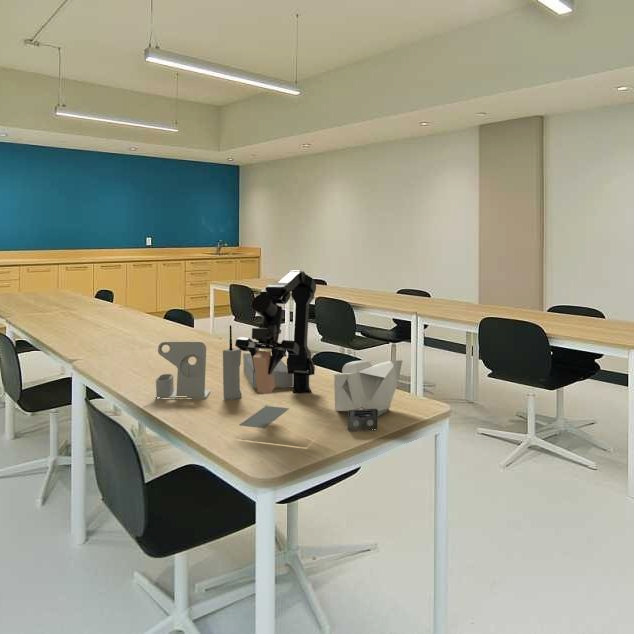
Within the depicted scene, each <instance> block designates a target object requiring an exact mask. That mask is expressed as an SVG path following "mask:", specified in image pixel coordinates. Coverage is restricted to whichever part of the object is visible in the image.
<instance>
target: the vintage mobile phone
mask: <svg viewBox="0 0 634 634" xmlns="http://www.w3.org/2000/svg"><path fill="white" fill-rule="evenodd" d="M232 331H233V330H232V325H229V339H228V340H229V348H228V349H223V350H222V373H223V374H222V375H223V376H222V377H223V378H222V379H223V381H222V382H223V383H222V386H223V387H222V388H223V391H222V393H223V400H229V401H233V400H236V399H240V398H241V397H243V396H242V395H243V394H242V391H241V388H240V386H241V383H240V382H241V380H240V379H241V378H240V370H241V369H240V366H241V364H242V363H241V362H242V361H241V359H242V350H240V349H239V348H237V347H236V348H235V347H233V339H232V336H233V335H232V334H233V333H232Z"/></svg>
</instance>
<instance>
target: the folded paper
mask: <svg viewBox="0 0 634 634" xmlns="http://www.w3.org/2000/svg"><path fill="white" fill-rule="evenodd" d="M402 364H403V360H387V361H384V362H381V363H377V364H374V365H373V364H372V363H371V362H370V361H368V360H366V359H365V360H364V359H363V360H353V361H350V362H347V363H345V364H344V365H343V366H342V369H341V372H342V373H337V374H334V375H333V377H334V378H333V379H334V410H335V411H337V412H348V410H358V409H377V410H378V416H379V417H380V415H381V416H382V415H383V413H384V412H385V413H387V412H388V411H390V408H391V403H392V401H393V399H394V395H395V393H396V390H397V387H398V384H399V380H400V374H401V371H402ZM387 410H388V411H387ZM385 413H384V414H385Z"/></svg>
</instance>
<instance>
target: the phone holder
mask: <svg viewBox="0 0 634 634" xmlns="http://www.w3.org/2000/svg"><path fill="white" fill-rule="evenodd" d="M164 346H168V347H169V351H166V352H165V351H163V349H162V348H163V347H164ZM157 353H158V355H160V356H161V357H162V358H164V359H165V360H166V361H168V362H169V363H171V364H172V365H173V366H175V367H176V368H177V375H176V376H177V380H176V389H175V388H174V375H173V374H171V373H170V374H169V373H165V374H160V375H159V377H157V378H156V379H155V387H156V388H155V390H156V394H155V397H156V396H157V397H160V398H192V399H191V400H206V399H207V398H208V397H209V395H210V393H211V390H210V389H206V372H207V371H206V369H207V367H206V366H207V365H206V364H207V345H206V344H205V343H204V342H202V341H163V342H161V343H159V345H158V347H157ZM192 357H193V358H195V359H196V360H195V363H194V364H191V363H189V361H190V360H189V359H190V358H192ZM175 396H187V397H175ZM205 398H206V399H205Z"/></svg>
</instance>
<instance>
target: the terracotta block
mask: <svg viewBox="0 0 634 634" xmlns="http://www.w3.org/2000/svg"><path fill="white" fill-rule="evenodd" d="M271 356H272V351H270V350H269V351H268V350H259V351H257V352H256V354H255V355H254V356H253V362H254V369H255V376H256V382H257V389H256V390H257V393H263V394H271V393H272V392H273V390H274V389H275V388H274V387H275V381H274V374H273V372H272V373H271V375H269V374H268V370H269V365H270V361H271Z"/></svg>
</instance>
